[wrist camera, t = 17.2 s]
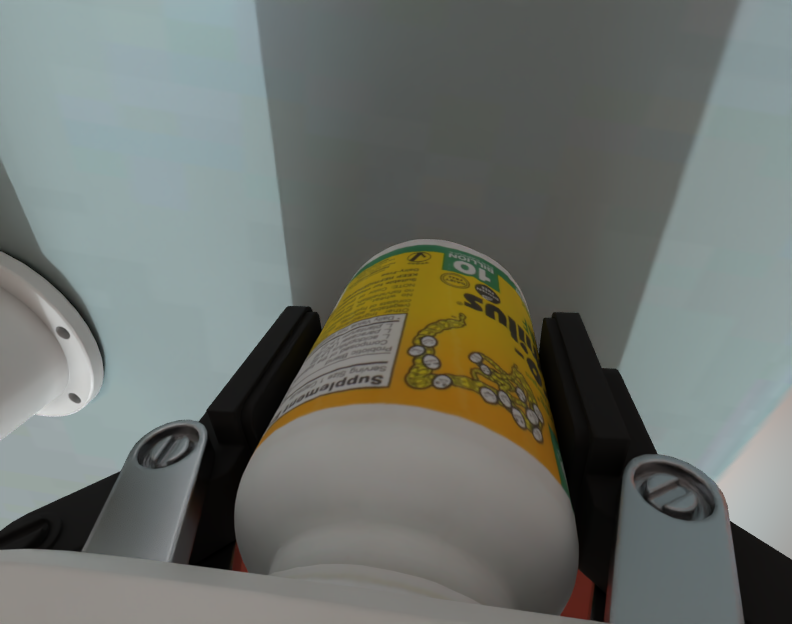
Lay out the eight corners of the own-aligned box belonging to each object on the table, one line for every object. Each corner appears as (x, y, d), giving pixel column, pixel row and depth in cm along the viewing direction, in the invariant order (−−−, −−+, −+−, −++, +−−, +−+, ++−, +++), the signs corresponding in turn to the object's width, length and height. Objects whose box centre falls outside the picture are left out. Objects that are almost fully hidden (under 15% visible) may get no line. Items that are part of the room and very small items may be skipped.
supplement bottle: (310, 283, 13) (-4, 699, 4) (478, 196, 11) (485, 661, 2) (402, 412, 14) (306, 867, 6) (559, 359, 12) (719, 927, 4)
